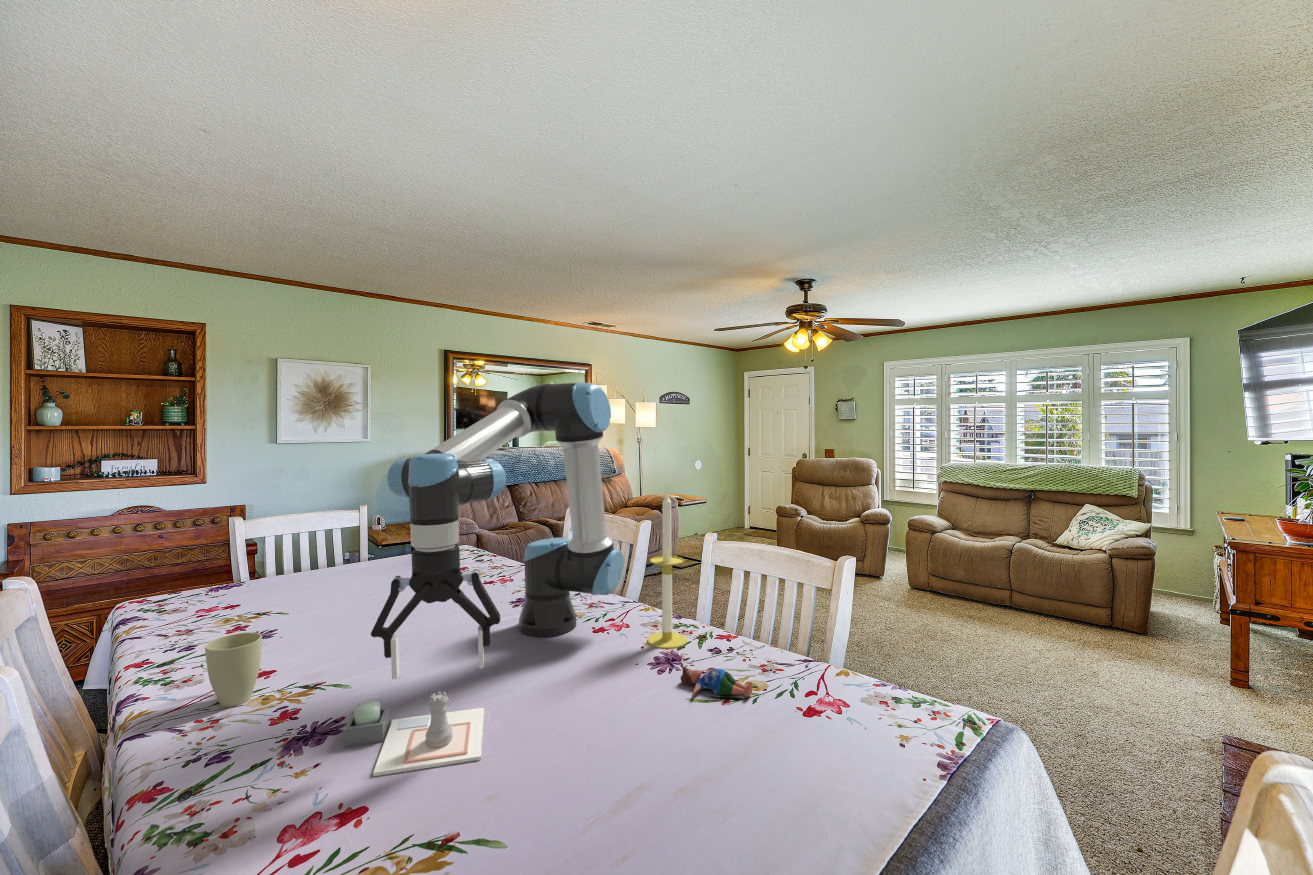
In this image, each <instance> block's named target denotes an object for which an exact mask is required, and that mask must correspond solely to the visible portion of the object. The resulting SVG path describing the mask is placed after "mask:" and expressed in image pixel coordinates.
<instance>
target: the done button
mask: <svg viewBox="0 0 1313 875" xmlns="http://www.w3.org/2000/svg"><path fill="white" fill-rule="evenodd" d="M380 708H381V703H380V702H379V701H378V700H368V701H363V702H362V703H359V704H358V705H356V706H355V707H354V709H353V710H354V711H353V712H354V716H355V726H358V725H366V724H373V723H379V722H380Z"/></svg>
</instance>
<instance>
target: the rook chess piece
mask: <svg viewBox="0 0 1313 875" xmlns="http://www.w3.org/2000/svg"><path fill="white" fill-rule="evenodd" d="M449 699H450V698H449V697H448V696H447V693H446V691H442V692H441V691H437V694H436V692H433V693H432V694H431V695H430V698H429V700H428V702H427V704H428V705H429V706H430V709H429V712H430V715H431V722H430V726H429V728H428V731H427V732H426V736H425V737H426V739H425V743H426V744H427V745H428V746H429V747H431V748H439V747H442V746H445V745H447V744H448V743H449V742H450V741H451V740H452V738H453V734H452V728H451V727H450V724H449V723H448V721H447V715H446V713H447V710H448V706H447V703H448V702H449Z"/></svg>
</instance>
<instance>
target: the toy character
mask: <svg viewBox="0 0 1313 875" xmlns="http://www.w3.org/2000/svg"><path fill="white" fill-rule="evenodd" d="M681 668H682V674H681V676H680V682H681V683H682V684H683V685H686V686H687V687H693V686H695V687H694V688H693V691H692V694H691V697H692V698H693V697H695V696H696V693H698V692H699V691H700V690H702V689H705V690H706V689H710V690H711V691H712V692H713V693H714V694H715V695H716V696H717V695H718V696H725V695H726V696H728V695H732V696H733V695H734V696H735V695H744V696H746V697H751V695H752V694H753V682H752V681H749V682H748V684H747V685H745V684H743V683H741V682H739V681H738V680H737V679H735V678H734V677H733V676H732V674H731V673H729V672H728V671H726V670H725V669H722V668H713V669H712V668H711V669H710V670H707V671H705V672H704V674H703V675H702V671H701V670H699V669H694V670H693V669H690V668H687V667H684V666H682V667H681Z"/></svg>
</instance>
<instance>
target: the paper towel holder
mask: <svg viewBox="0 0 1313 875" xmlns="http://www.w3.org/2000/svg"><path fill="white" fill-rule="evenodd" d="M684 561H685V559H684V558H683V557H681V556H677V555H672V500H671V499H670V497H669V493H668V490H667V491H666V492H665V497H664V499H663V501H662V555H657V556H653V557H651V558H650V559H649V562H650V563H651V564H652V565H656V566H660V567H661V572H662V573H661V591H662V592H661V599H662V600H661V626H662V628H661V632H655V633H653V634H651V635H649V636H648V637H647V640H646V642H647V643H648V645H650V646H652V647H653V648H656V649H663V650H664V649H665V650H671V649H677V648H680V647H684V646H685V645H686V644H687V642H688V638H687V637H686V636H685V635H683V634H682V633H677V632H673V566H678V565H681V564H684Z"/></svg>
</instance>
